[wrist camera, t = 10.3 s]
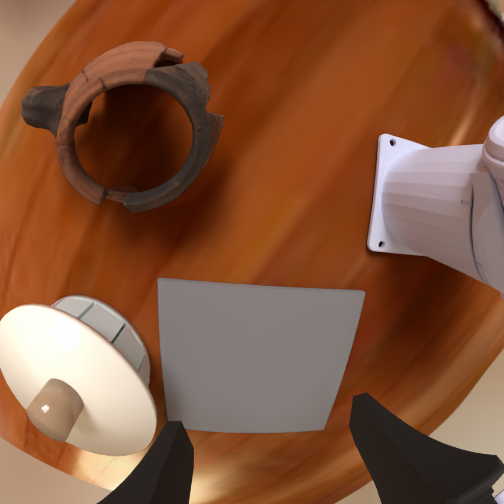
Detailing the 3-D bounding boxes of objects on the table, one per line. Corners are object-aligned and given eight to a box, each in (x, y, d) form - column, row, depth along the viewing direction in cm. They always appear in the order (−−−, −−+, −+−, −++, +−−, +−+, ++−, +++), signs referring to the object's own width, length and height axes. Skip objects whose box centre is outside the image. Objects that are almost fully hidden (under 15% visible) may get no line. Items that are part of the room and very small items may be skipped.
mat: (362, 290, 19) (365, 292, 19) (322, 426, 22) (323, 429, 22) (159, 277, 18) (157, 280, 17) (169, 423, 21) (168, 426, 21)
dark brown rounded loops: (227, 52, 15) (255, 59, 9) (196, 171, 21) (205, 239, 15) (59, 41, 11) (-8, 53, 5) (51, 160, 17) (4, 224, 11)
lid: (183, 368, 14) (172, 414, 11) (138, 468, 16) (130, 501, 13) (0, 266, 12) (-37, 285, 8) (7, 396, 14) (-12, 420, 11)
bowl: (146, 303, 18) (122, 340, 13) (156, 407, 21) (144, 449, 16) (35, 287, 17) (-2, 311, 13) (59, 384, 20) (37, 417, 15)
